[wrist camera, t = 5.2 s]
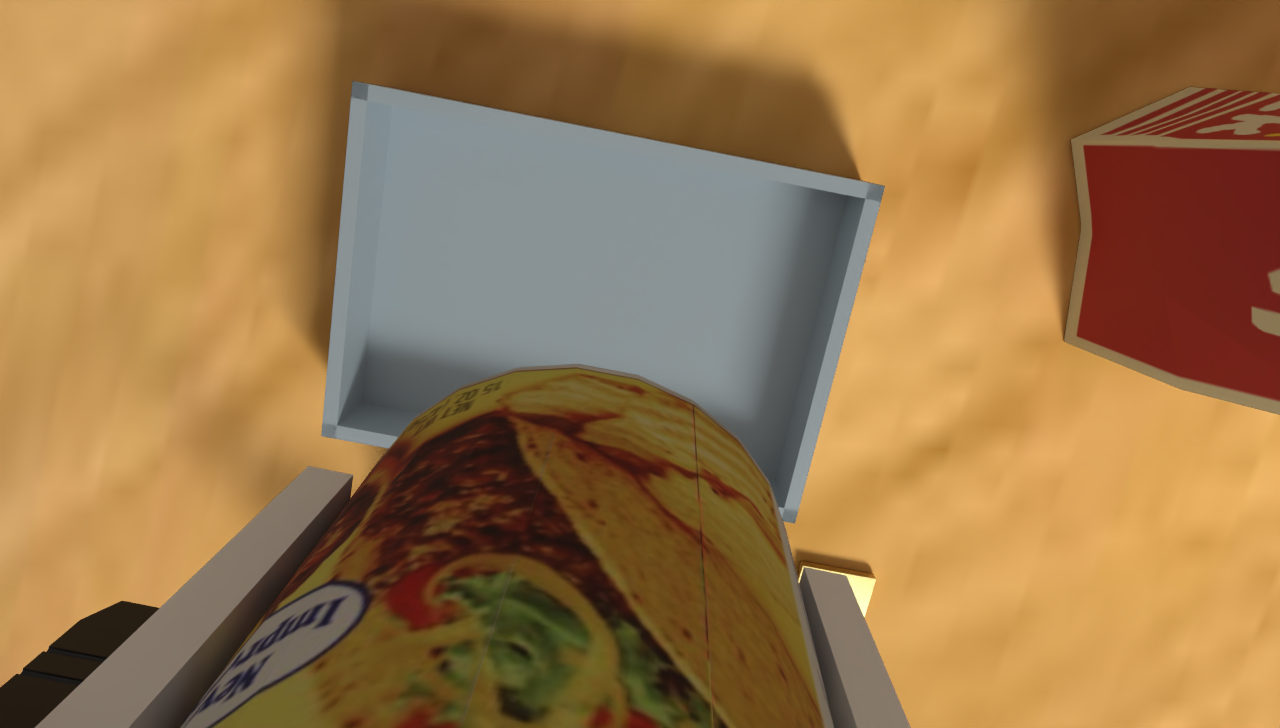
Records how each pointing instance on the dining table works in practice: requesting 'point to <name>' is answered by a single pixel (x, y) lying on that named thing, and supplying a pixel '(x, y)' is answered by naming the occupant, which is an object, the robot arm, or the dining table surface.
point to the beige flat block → (858, 581)
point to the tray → (586, 270)
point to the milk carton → (1184, 244)
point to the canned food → (541, 577)
